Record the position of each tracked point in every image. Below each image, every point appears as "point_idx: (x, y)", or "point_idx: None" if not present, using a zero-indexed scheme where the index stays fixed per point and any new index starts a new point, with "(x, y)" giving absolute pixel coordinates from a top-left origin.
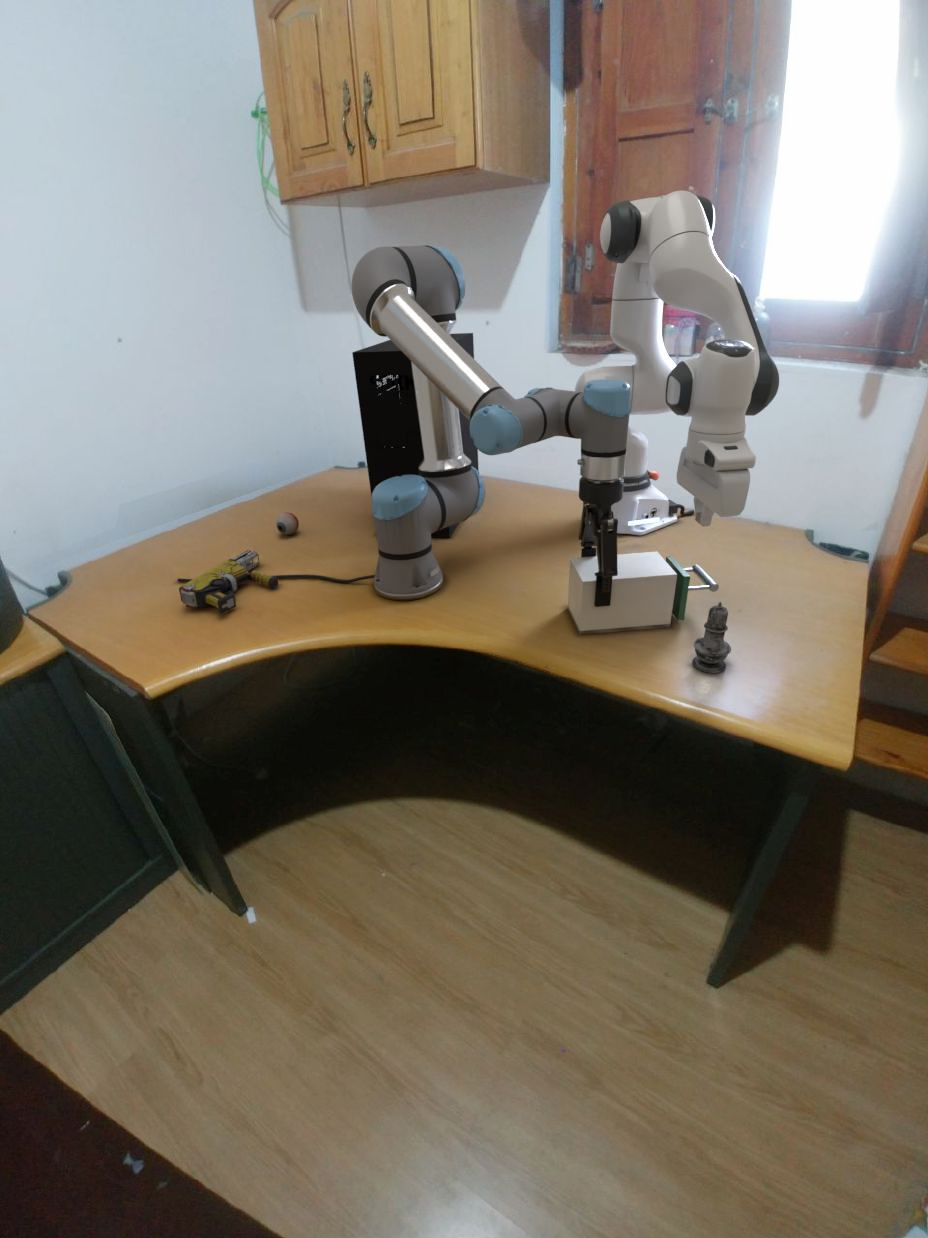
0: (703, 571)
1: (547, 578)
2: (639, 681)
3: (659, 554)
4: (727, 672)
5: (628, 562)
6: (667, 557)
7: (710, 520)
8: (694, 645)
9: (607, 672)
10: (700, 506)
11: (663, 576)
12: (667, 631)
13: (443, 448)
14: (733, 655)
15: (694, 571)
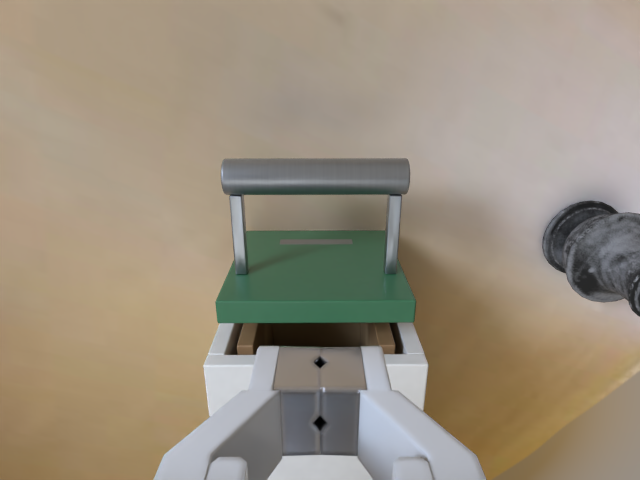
0: (292, 179)
1: (91, 461)
2: (579, 388)
3: (236, 367)
4: (623, 207)
5: (294, 476)
6: (230, 322)
7: (385, 370)
8: (595, 300)
9: (528, 431)
10: (249, 470)
11: (423, 404)
12: (407, 274)
13: None
14: (564, 159)
15: (256, 194)
